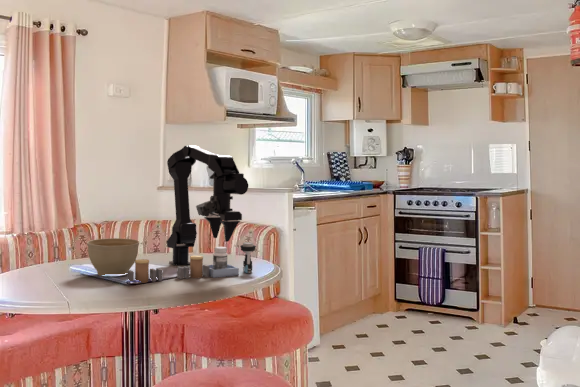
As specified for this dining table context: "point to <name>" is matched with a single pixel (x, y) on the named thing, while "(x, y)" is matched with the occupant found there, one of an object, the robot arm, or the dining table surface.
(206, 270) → the clip row
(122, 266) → the planter bowl
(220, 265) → the pill bottle
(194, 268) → the tan cylinder
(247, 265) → the push button
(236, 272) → the tray
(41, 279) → the dining table surface
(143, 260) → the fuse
